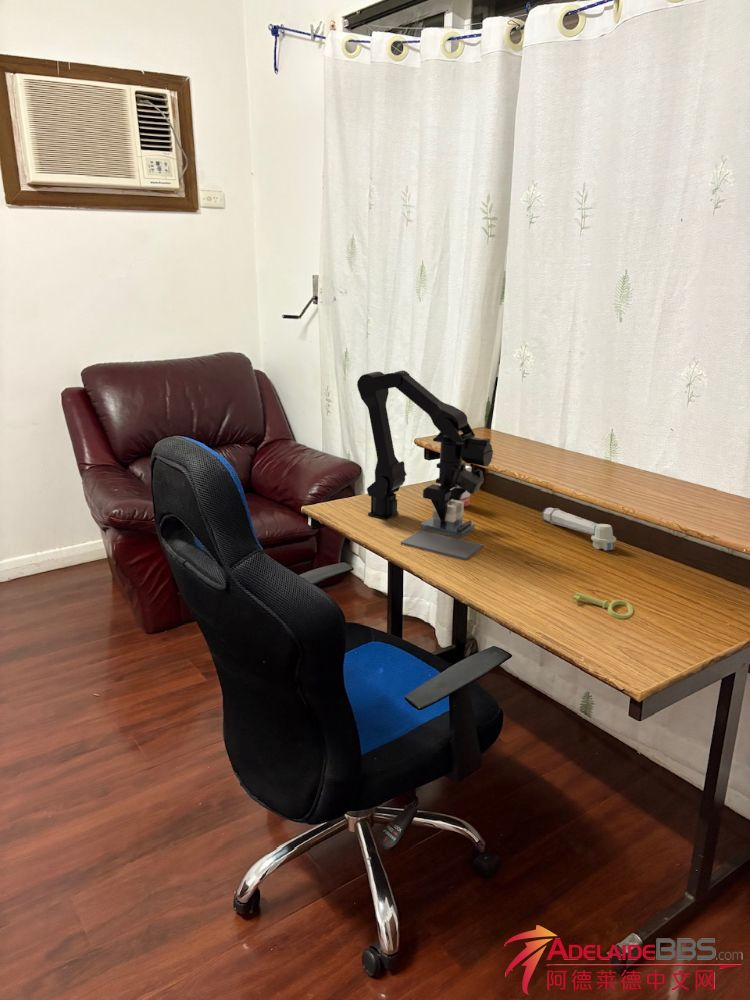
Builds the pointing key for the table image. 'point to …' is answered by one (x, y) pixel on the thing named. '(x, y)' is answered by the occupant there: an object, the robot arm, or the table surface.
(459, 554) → the charcoal mat
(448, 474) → the robot arm
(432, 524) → the vise
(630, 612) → the key
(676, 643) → the table surface
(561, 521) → the grey pipe fitting
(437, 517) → the collar
